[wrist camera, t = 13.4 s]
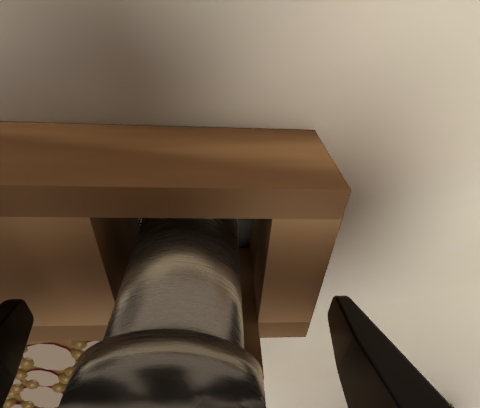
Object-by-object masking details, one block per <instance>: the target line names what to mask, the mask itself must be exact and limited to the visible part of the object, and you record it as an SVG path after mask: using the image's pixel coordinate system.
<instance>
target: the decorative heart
mask: <svg viewBox="0 0 480 408" xmlns="http://www.w3.org/2000/svg"><path fill="white" fill-rule="evenodd" d="M98 342H100V341H52V342H27V344H26V348H25V351H24V354H23V357H22V360H21V363H20V366H19V369H18V372H17V375H16V377H15V380H14V382H13V385H12V387H11V389H10V392H9V394H8V396H7V398H6V401H5V403H4V405H3V407H2V408H58V406H59V403H60V401H61V398H62V396H63V393H64V390H65V388H66V385H67V383H68V380H69V377H70V375H71V372H72V370H73V367H74V365H75V362H76V360H77V359H78V358H79V356H80V355H81V354H82V353H83V352H84V351H85V350H86V349H88V348H89V347H91V346H92V345H94V344H96V343H98Z"/></svg>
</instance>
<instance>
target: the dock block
mask: <svg viewBox="0 0 480 408" xmlns="http://www.w3.org/2000/svg"><path fill="white" fill-rule="evenodd" d="M350 192H351V189H350V188H349V186H348V184H347V183H346V181H345V179H344V178H343V176H342V174H341V173H340V171H339V169H338V168H337V166H336V164H335V163H334V161H333V159H332V158H331V156H330V155H329V153H328V151H327V150H326V148H325V146H324V145H323V143H322V141H321V140H320V138H319V136H318V135H317V133H316V131H315V130H288V129H251V128H214V127H177V126H140V125H103V124H66V123H29V122H0V304H1V303H2V302H4V301H5V300H8V299H23V300H24V301H25V302H26V304H27V305H28V307H29V309H30V311H31V312H32V314H33V317H34V322H33V326H32V329H31V332H30V335H29V338H28V341H27V342H52V341H102V340H103V337H104V334H105V331H106V328H107V325H108V322H109V319H110V316H111V313H112V310H113V307H114V304H115V301H116V298H117V295H118V292H119V289H120V286H121V283H122V280H123V277H124V274H125V271H126V268H127V265H128V262H129V259H130V256H131V253H132V250H133V247H134V244H135V242H136V239H137V236H138V233H139V230H140V226H139V221H138V218H229V219H253V221H252V231H251V242H250V248H239V259H240V277H241V295H242V313H243V331H244V349H245V350H247V351H248V352H249V353H250V354H251V355H253V356H254V358H255V359H256V360H257V361H258V363H259V365H260V366H261V369H262V373H263V366H262V356H261V347H260V338H265V337H306V334H307V331H308V328H309V325H310V321H311V318H312V315H313V312H314V309H315V305H316V302H317V299H318V296H319V292H320V289H321V286H322V283H323V279H324V276H325V273H326V270H327V266H328V263H329V260H330V257H331V253H332V250H333V247H334V244H335V240H336V237H337V234H338V231H339V228H340V224H341V221H342V218H343V215H344V211H345V208H346V205H347V202H348V198H349V195H350ZM263 380H264V375H263Z"/></svg>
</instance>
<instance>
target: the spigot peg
mask: <svg viewBox="0 0 480 408" xmlns="http://www.w3.org/2000/svg"><path fill="white" fill-rule="evenodd" d="M58 408H266V402H265V392H264V382H263V373H262V369H261V366H260V365H259V363H258V361H257V360H256V359H255V358H254V356H253V355H251V354H250V353H249V352H248V351H247V350H245V349H244V331H243V313H242V295H241V277H240V259H239V241H238V223H237V219H229V218H143V221H142V224H141V227H140V230H139V233H138V236H137V239H136V242H135V244H134V247H133V250H132V253H131V256H130V259H129V262H128V265H127V268H126V271H125V274H124V277H123V280H122V283H121V286H120V289H119V292H118V295H117V298H116V301H115V304H114V307H113V310H112V313H111V316H110V319H109V322H108V325H107V328H106V331H105V334H104V337H103V340H102V341H100V342H98V343H96V344H94V345H92V346H91V347H89V348H88V349H86V350H85V351H84V352H83V353H82V354H81V355H80V356H79V358H78V359H77V360H76V362H75V365H74V367H73V370H72V372H71V375H70V377H69V380H68V383H67V385H66V388H65V390H64V393H63V396H62V398H61V401H60V403H59V406H58Z"/></svg>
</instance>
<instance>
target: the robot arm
mask: <svg viewBox="0 0 480 408" xmlns="http://www.w3.org/2000/svg"><path fill="white" fill-rule="evenodd" d="M33 322H34V317H33V314H32V312H31V311H30V309H29V307H28V305H27V304H26V302H25V301H24V300H23V299H8V300H5V301H4V302H2V303H1V304H0V408H2V407H3V405H4V403H5V401H6V398H7V396H8V394H9V392H10V389H11V387H12V385H13V382H14V380H15V377H16V375H17V372H18V369H19V366H20V363H21V360H22V357H23V354H24V351H25V348H26V344H27V341H28V338H29V335H30V332H31V329H32V326H33ZM328 322H329V327H330V333H331V338H332V344H333V349H334V355H335V360H336V365H337V370H338V374H339V378H340V381H341V385H342V388H343V391H344V395H345V398H346V402H347V405H348V408H454V407H452V406H449V403H448V402H447V401H446V400H445V399H444V398H443V396H442V395H441V394H440V393H439V392H438V391H437V390H436V389H435V388H434V387H433V386H432V385H431V384H430V383H429V382H428V381H427V379H426V378H425V377H424V376H423V375H422V374H421V373H420V372H419V371H418V370H417V369H416V368H415V367H414V366H413V365H412V363H411V362H410V361H409V360H408V359H407V358H406V357H405V356H404V355H403V354H402V353H401V352H400V351H399V350H398V349H397V348H396V346H395V345H394V344H393V343H392V342H391V341H390V340H389V339H388V338H387V337H386V336H385V335H384V334H383V333H382V332H381V330H380V329H379V328H378V327H377V326H376V325H375V324H374V323H373V322H372V321H371V320H370V319H369V318H368V317H367V316H366V315H365V313H364V312H363V311H362V310H361V309H360V308H359V307H358V306H357V305H356V304H355V303H354V302H353V301H352V300H351V299H350V298H349V297H348V296H335V297H333V299H332V302H331V305H330V308H329V311H328Z"/></svg>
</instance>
